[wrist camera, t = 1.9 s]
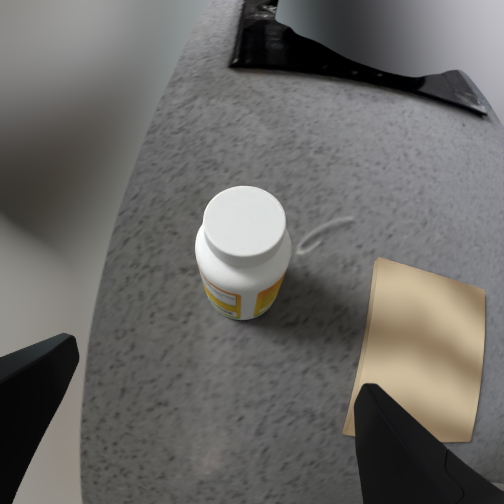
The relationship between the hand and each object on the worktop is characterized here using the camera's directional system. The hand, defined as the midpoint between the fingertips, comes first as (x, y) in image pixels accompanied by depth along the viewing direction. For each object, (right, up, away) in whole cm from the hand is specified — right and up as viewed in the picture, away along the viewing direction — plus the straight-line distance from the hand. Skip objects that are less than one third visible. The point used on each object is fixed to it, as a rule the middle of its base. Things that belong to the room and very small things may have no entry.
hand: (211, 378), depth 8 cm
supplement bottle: (0, +1, +15) cm, 15 cm away
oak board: (+15, -5, +13) cm, 21 cm away
